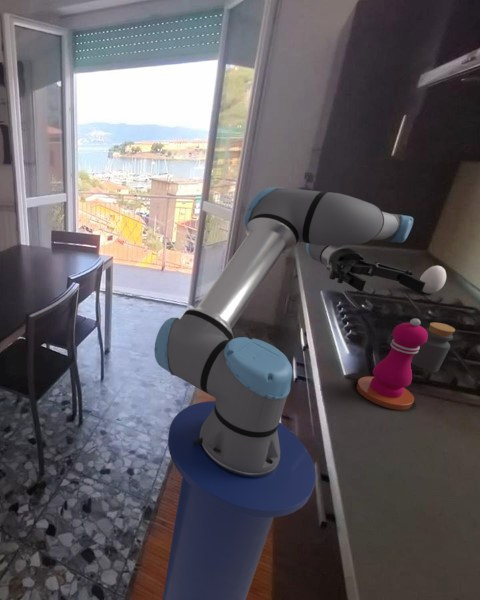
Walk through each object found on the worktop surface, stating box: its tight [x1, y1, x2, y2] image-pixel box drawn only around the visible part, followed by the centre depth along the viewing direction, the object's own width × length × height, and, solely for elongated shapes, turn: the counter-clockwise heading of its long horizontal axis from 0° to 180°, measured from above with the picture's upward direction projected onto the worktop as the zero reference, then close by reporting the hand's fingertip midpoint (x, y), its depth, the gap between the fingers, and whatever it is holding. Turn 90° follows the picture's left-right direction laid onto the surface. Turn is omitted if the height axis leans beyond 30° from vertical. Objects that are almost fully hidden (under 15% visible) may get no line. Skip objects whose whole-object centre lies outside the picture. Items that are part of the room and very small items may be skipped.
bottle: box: [411, 321, 456, 373], centre depth 93 cm, size 6×6×15 cm
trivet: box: [356, 376, 415, 411], centre depth 89 cm, size 11×11×2 cm
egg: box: [419, 265, 447, 295], centre depth 143 cm, size 7×7×12 cm
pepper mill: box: [370, 318, 428, 398], centre depth 84 cm, size 7×7×20 cm
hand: (392, 287), depth 87 cm, fingers open, 13 cm apart
